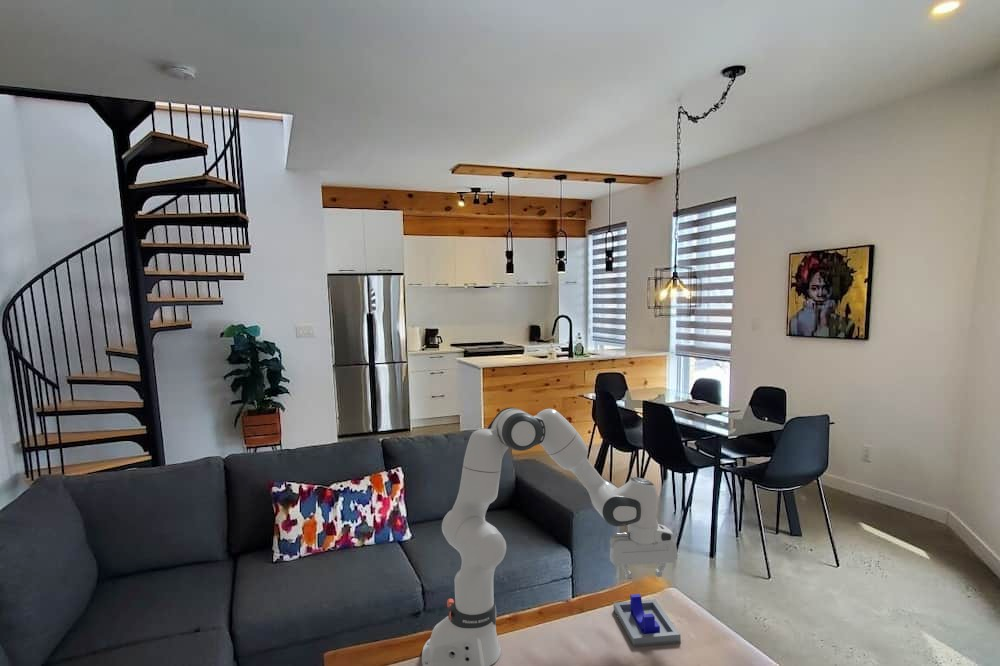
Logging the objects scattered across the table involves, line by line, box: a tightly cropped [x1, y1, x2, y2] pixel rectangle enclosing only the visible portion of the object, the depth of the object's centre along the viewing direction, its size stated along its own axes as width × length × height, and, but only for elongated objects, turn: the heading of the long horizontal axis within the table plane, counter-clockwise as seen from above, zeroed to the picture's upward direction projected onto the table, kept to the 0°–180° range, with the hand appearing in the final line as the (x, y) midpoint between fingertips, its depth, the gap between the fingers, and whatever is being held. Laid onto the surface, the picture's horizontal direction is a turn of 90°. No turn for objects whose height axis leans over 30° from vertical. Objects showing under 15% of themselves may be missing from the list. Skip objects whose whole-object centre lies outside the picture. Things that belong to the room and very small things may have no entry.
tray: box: [613, 599, 682, 648], centre depth 149 cm, size 14×18×2 cm
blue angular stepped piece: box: [629, 593, 660, 634], centre depth 148 cm, size 12×4×6 cm, turn 5°
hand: (643, 577), depth 149 cm, fingers open, 8 cm apart
